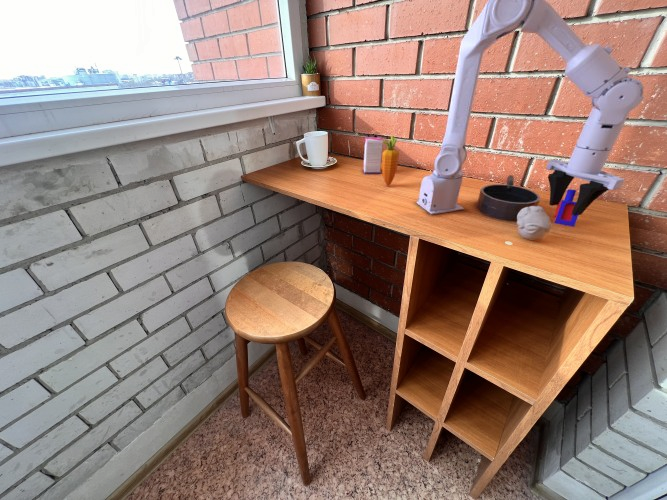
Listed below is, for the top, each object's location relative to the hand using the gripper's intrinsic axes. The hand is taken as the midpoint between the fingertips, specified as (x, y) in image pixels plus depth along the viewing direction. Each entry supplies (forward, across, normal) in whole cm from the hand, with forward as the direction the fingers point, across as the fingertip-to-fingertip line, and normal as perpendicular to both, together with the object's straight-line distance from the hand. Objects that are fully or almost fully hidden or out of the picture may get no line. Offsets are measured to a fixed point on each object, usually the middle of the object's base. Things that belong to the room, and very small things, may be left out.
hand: (564, 209), depth 64 cm
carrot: (+4, +37, +26) cm, 45 cm away
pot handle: (+1, +19, -3) cm, 19 cm away
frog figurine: (+4, -2, +11) cm, 12 cm away
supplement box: (+4, +53, +25) cm, 59 cm away
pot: (+4, +11, +5) cm, 13 cm away
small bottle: (+3, -1, 0) cm, 3 cm away
